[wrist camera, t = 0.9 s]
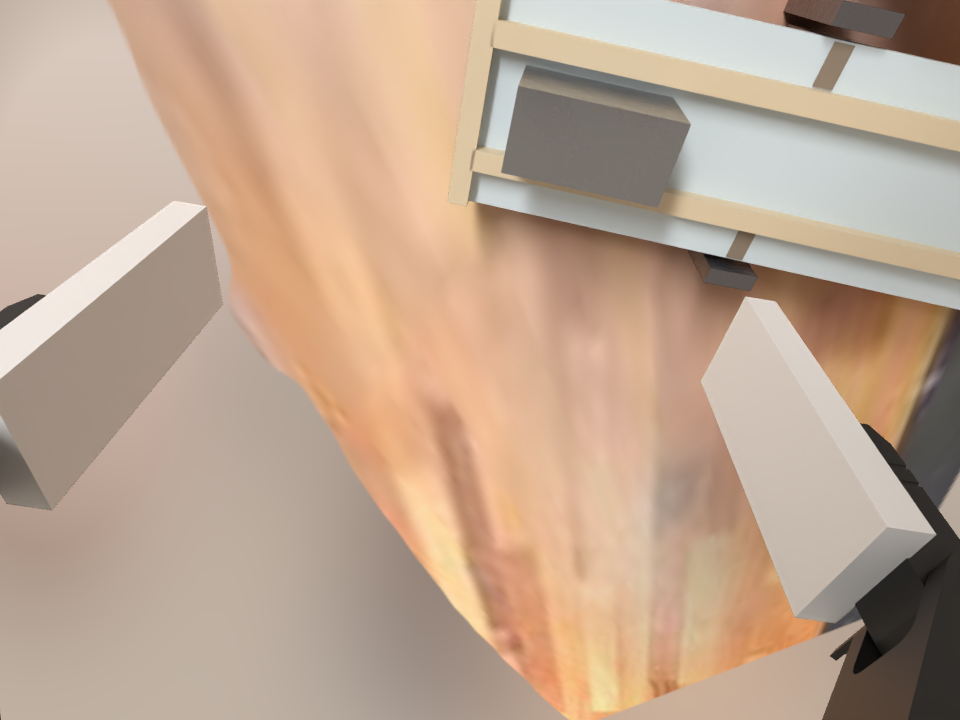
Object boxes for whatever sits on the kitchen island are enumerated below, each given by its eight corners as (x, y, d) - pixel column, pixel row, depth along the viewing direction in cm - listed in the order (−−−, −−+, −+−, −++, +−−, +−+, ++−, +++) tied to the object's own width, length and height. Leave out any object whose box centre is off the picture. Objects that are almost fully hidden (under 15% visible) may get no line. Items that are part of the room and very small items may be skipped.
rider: (526, 64, 29) (518, 85, 25) (673, 97, 29) (691, 124, 25) (510, 141, 31) (500, 172, 27) (646, 171, 31) (658, 207, 27)
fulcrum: (793, -10, 30) (843, 0, 25) (845, 1, 30) (905, 14, 25) (682, 240, 39) (704, 282, 34) (723, 248, 39) (749, 291, 34)
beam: (487, -40, 27) (481, -39, 26) (1184, 115, 27) (1226, 127, 26) (453, 189, 35) (447, 202, 33) (1003, 312, 35) (1026, 331, 33)
